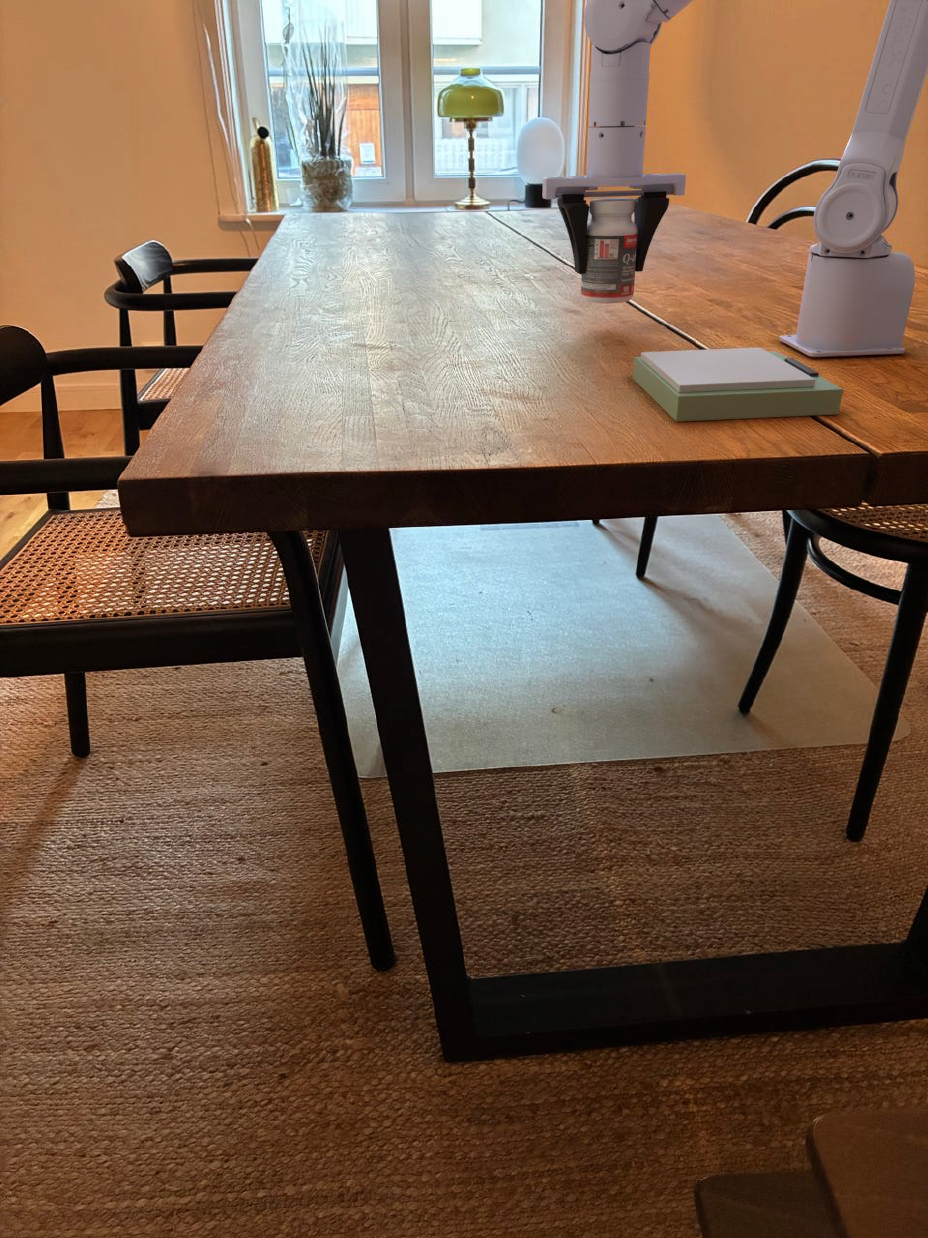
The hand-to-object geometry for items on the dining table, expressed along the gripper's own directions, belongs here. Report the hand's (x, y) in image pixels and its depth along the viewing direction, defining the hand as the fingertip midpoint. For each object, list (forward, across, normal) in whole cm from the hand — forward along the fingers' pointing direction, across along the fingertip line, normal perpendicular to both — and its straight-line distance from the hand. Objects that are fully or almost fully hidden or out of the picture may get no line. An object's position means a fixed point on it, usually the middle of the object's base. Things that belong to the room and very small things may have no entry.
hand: (608, 271), depth 96 cm
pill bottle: (+3, 0, 0) cm, 3 cm away
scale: (+6, -4, +28) cm, 29 cm away
